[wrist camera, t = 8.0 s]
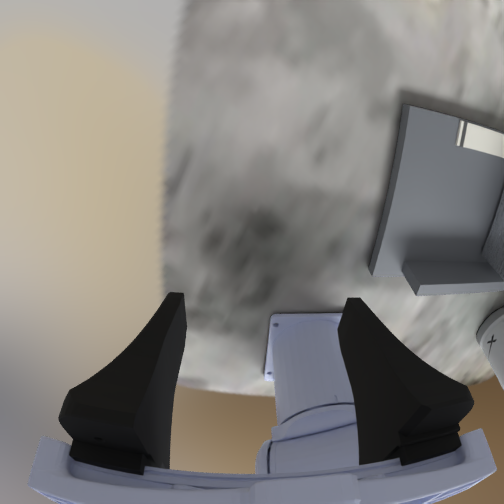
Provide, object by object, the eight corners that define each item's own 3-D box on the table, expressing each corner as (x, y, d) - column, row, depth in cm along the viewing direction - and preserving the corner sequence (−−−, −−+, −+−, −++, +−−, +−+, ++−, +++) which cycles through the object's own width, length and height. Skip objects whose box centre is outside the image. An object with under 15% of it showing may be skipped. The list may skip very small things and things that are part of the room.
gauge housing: (507, 268, 25) (527, 292, 22) (368, 269, 25) (384, 302, 21) (547, 150, 18) (576, 166, 15) (403, 103, 18) (434, 115, 14)
